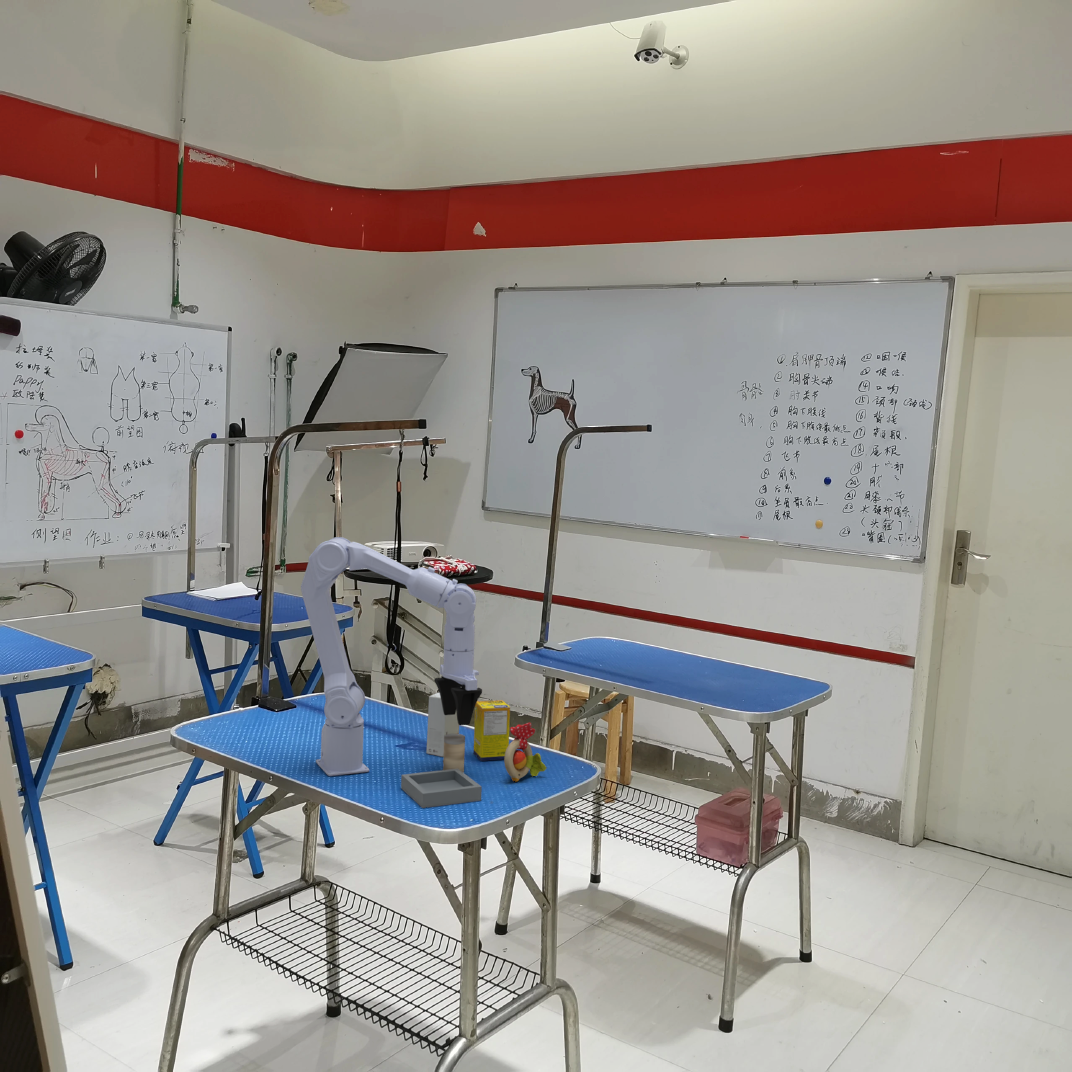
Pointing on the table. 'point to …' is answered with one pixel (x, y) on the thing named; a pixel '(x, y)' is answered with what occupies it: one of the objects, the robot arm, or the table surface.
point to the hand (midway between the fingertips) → (456, 719)
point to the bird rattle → (522, 754)
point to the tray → (440, 788)
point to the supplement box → (491, 729)
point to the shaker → (454, 752)
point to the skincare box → (439, 726)
